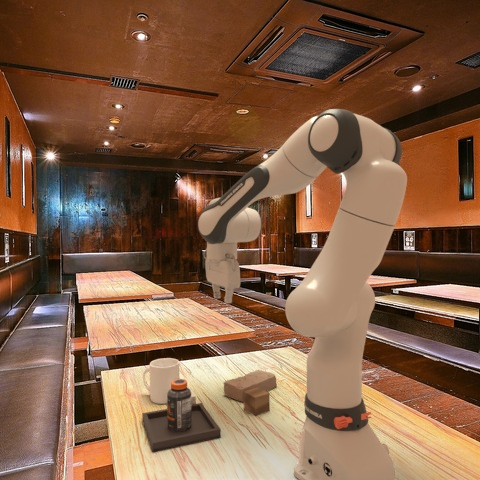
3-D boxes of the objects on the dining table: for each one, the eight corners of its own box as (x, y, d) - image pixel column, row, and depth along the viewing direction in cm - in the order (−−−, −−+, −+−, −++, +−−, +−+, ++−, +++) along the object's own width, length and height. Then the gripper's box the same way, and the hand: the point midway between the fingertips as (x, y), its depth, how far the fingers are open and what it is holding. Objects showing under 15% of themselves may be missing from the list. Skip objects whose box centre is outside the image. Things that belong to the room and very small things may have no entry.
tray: (220, 437, 92) (220, 429, 92) (152, 452, 86) (152, 443, 86) (201, 410, 107) (201, 402, 107) (142, 420, 101) (142, 413, 101)
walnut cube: (269, 411, 106) (269, 392, 106) (255, 416, 103) (255, 397, 103) (257, 404, 110) (257, 387, 110) (244, 409, 107) (243, 391, 107)
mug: (152, 389, 122) (151, 355, 122) (185, 395, 117) (184, 359, 117) (134, 400, 114) (134, 364, 114) (169, 406, 109) (168, 368, 109)
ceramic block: (196, 410, 107) (195, 396, 107) (174, 414, 105) (174, 400, 105) (190, 402, 112) (190, 388, 112) (169, 405, 110) (169, 391, 110)
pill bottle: (165, 423, 98) (164, 379, 98) (187, 418, 100) (187, 375, 100) (170, 434, 92) (170, 387, 92) (194, 429, 95) (194, 383, 95)
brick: (257, 381, 129) (257, 367, 129) (278, 387, 123) (277, 372, 123) (222, 397, 116) (222, 381, 116) (243, 405, 111) (243, 388, 111)
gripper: (245, 254, 105) (246, 305, 105) (220, 251, 124) (221, 295, 124) (224, 254, 102) (224, 307, 102) (202, 252, 121) (202, 296, 121)
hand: (222, 300), depth 113 cm, fingers open, 8 cm apart
